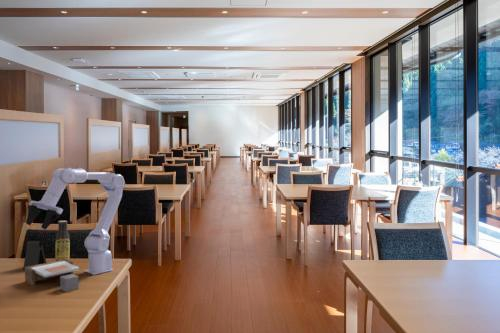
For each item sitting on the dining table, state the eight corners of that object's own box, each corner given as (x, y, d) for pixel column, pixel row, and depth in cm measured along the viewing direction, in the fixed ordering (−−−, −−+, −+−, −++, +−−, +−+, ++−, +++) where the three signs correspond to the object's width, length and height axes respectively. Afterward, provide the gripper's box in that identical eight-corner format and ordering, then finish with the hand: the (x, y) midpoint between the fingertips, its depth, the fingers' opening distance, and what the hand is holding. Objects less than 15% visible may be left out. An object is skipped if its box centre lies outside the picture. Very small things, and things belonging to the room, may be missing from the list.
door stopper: (35, 270, 206) (34, 243, 205) (23, 269, 206) (22, 243, 206) (46, 264, 215) (45, 239, 214) (34, 264, 215) (33, 239, 215)
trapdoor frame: (65, 272, 201) (65, 259, 200) (73, 276, 196) (72, 262, 195) (25, 281, 189) (24, 267, 188) (32, 285, 184) (31, 270, 183)
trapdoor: (30, 270, 188) (30, 267, 188) (64, 263, 198) (64, 260, 198) (44, 277, 178) (44, 274, 178) (79, 269, 188) (79, 267, 188)
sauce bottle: (56, 265, 213) (54, 222, 212) (54, 262, 219) (53, 220, 218) (71, 263, 216) (69, 221, 215) (69, 260, 222) (68, 219, 221)
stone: (72, 286, 183) (72, 273, 182) (78, 289, 179) (78, 276, 179) (60, 289, 179) (60, 276, 179) (66, 292, 176) (65, 279, 175)
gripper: (32, 187, 182) (14, 218, 176) (61, 194, 177) (44, 226, 172) (42, 195, 188) (25, 225, 182) (71, 202, 183) (54, 233, 178)
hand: (35, 226), depth 177 cm, fingers open, 7 cm apart
